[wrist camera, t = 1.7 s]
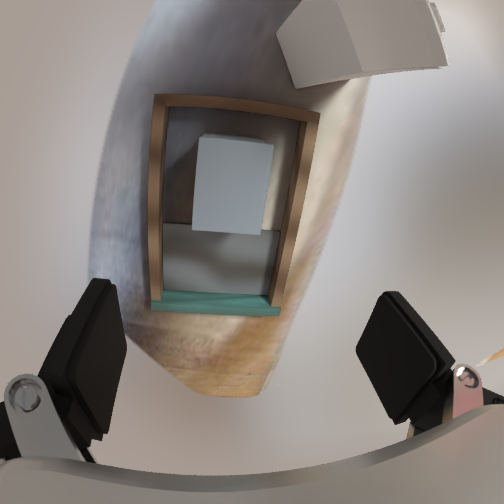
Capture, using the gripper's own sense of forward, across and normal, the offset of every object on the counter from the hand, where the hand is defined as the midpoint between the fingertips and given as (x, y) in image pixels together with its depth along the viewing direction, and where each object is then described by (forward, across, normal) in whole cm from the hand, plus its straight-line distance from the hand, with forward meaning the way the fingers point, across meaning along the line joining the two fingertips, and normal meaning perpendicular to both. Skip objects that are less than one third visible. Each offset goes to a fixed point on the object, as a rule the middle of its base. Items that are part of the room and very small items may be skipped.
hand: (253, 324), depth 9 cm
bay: (+23, 0, +4) cm, 23 cm away
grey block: (+23, 0, -1) cm, 23 cm away
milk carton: (+23, -8, -16) cm, 29 cm away
